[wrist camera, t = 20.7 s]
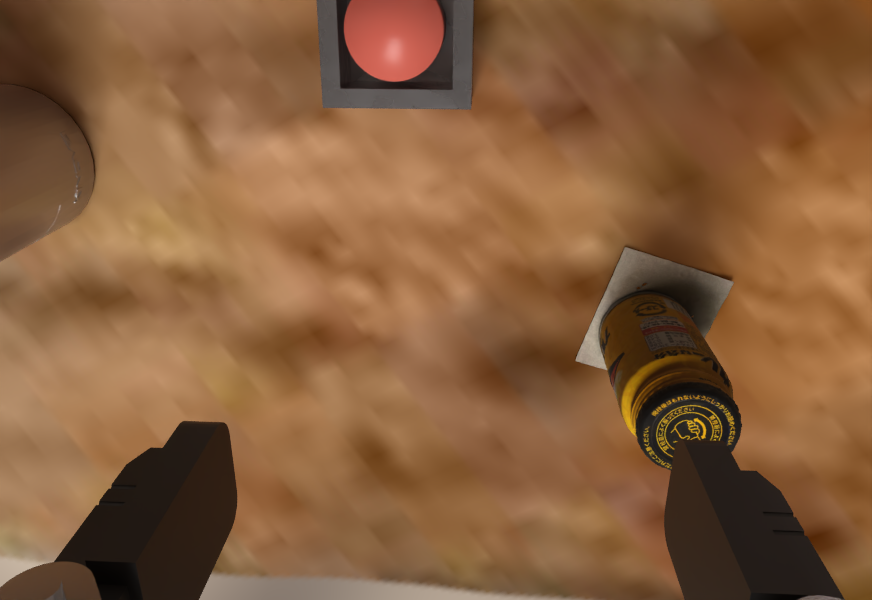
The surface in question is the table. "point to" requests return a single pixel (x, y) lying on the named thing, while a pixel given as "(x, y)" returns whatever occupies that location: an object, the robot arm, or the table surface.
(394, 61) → the button
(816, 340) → the table surface
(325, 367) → the table surface
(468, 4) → the button housing
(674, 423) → the condiment
